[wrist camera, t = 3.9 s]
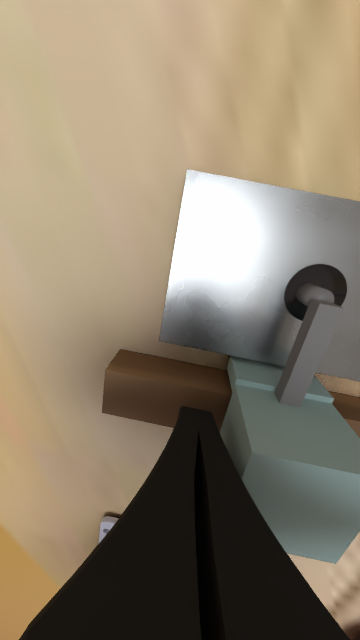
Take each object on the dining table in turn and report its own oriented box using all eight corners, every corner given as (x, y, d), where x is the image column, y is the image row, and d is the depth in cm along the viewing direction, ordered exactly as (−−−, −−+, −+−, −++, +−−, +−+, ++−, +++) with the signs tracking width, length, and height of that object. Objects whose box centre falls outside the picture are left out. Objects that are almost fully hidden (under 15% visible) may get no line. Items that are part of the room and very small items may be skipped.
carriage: (281, 440, 13) (332, 567, 8) (210, 426, 13) (216, 542, 8) (347, 289, 10) (500, 338, 5) (255, 270, 10) (310, 301, 5)
